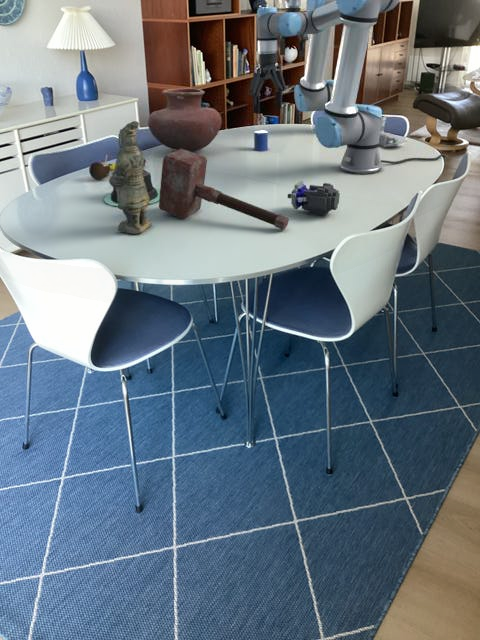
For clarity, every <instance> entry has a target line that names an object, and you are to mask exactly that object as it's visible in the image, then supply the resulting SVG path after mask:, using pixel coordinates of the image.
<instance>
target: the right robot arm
mask: <svg viewBox="0 0 480 640" xmlns="http://www.w3.org/2000/svg"><path fill="white" fill-rule="evenodd" d="M399 2H400V0H336V1H333V2H331V3H328V4H326V5H324V6H321V7H319V8H316V9H314V10H312V11H308V12H307V11H301V12H287V13H285V12H278V8H277V7H276V6H263V7H261V6H260V7H258V9H257V12H256V13H257V17H256V25H257V27H256V28H257V30H256V31H257V32H256V33H257V52H258V53H257V64H258V65H259V67H254V68H253V74H252V77H251V82H250V86H249V89H248V95H250V96H252V106H253V107H252V108H253V111H252V112H253V114H261V99H260V98H261V97H260V96H261V95H259V94H260V92H261V90H262V88H263V85H264V84H265V81H267V80H269V79H270V80H271V82H272V84H273V86H274V88H275V89H276V91H275V97H274V99H275V103H274V104H275V106H274V108H275V109H280V110H281V109H282V108H283V107H282V106H283V105H282V103H283V92H285V90H286V89H287V85H286V82H285V79H284V76H283V72H282V65H281V64H278V53H277V52H278V39H277V36H286V37H287V38H288V37H294V36H298V35H302V34H307V35H311V34H318V33H321V32H323V31H324V29H326V28H329V27H332V28H333V27H335V26H338V25H341V24H343V27H342V32H341V38H340V43H339V49H338V55H337V60H336V66H335V72H334V77H333V78H334V79H333V80H334V83H333V89H332V95H331V100H330V102H328V103H327V104H326V105H325V109H324V111H323V113H322V114H320V115H319V116H318V117H317V118H316V119H315V122H314V134H315V137H316V138H317V141H318V143H320V145H321V146H323V147H324V148H327V149H332V148H334V149H337V148H340V147H345V146H346V149H345V151H344V154H343V156H342V158H341V162H340V170H341V171H343V172H345V173H349V174H355V175H356V174H357V175H369V174H370V175H371V174H376V173H378V172H380V171H382V163H383V164H392V165H397V164H401V163H404V162H409V161H436V160H437V161H438V160H439V159H441V158H442V157H443V158H447V156H446V155H445V154H444V153H441V154H439V155H438V156H436V157H409V158H404V159H401V160H395V161H392V160H384V159H381V155H380V150H379V147H380V146H379V137H380V128H381V120H382V116H383V110H382V108H381V107H380V106H377V105H372V104H371V105H370V104H363V103H362V104H361V103H360V104H359V103H356V102H357V97H358V92H359V89H360V84H361V83H360V81H361V77H362V73H363V68H364V62H365V58H366V54H367V49H368V48H367V47H368V43H369V39H370V38H369V37H370V33H371V29H372V27H373V26H374V25H376V24H377V23H378V18H379V14H381V13H387V12H390V11H391V10H393V9H394V8H396V6H397V5H398V4H399ZM286 37H285V38H286Z"/></svg>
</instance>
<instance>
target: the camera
mask: <svg viewBox="0 0 480 640" xmlns="http://www.w3.org/2000/svg"><path fill="white" fill-rule="evenodd" d="M386 122H387V116H386V115H382V120H381V128H380V137H379V146H378V147H383V148H388V147H394V146H395V147H396V146H400V145H402V144H405V143H407V142H408V140H407V139H405V140H399V137H396V136H393V135H392V133H391V132H385V131H384V130H385V123H386ZM391 141H392V142H391Z"/></svg>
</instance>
